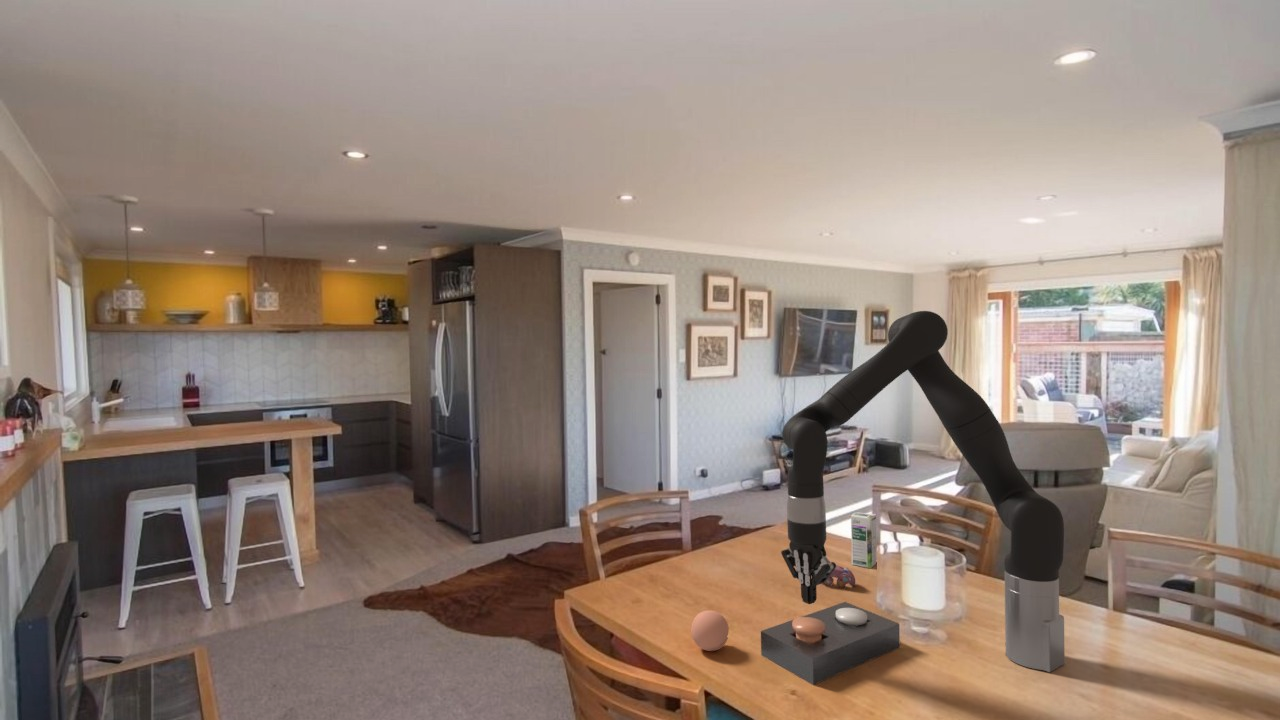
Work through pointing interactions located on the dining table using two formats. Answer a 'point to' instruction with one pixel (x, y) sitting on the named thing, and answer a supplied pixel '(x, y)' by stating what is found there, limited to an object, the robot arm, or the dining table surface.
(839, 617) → the grey button
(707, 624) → the toy ball
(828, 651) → the button panel
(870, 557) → the syrup box
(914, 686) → the dining table surface
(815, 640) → the terracotta button
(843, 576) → the video game controller
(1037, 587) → the robot arm
